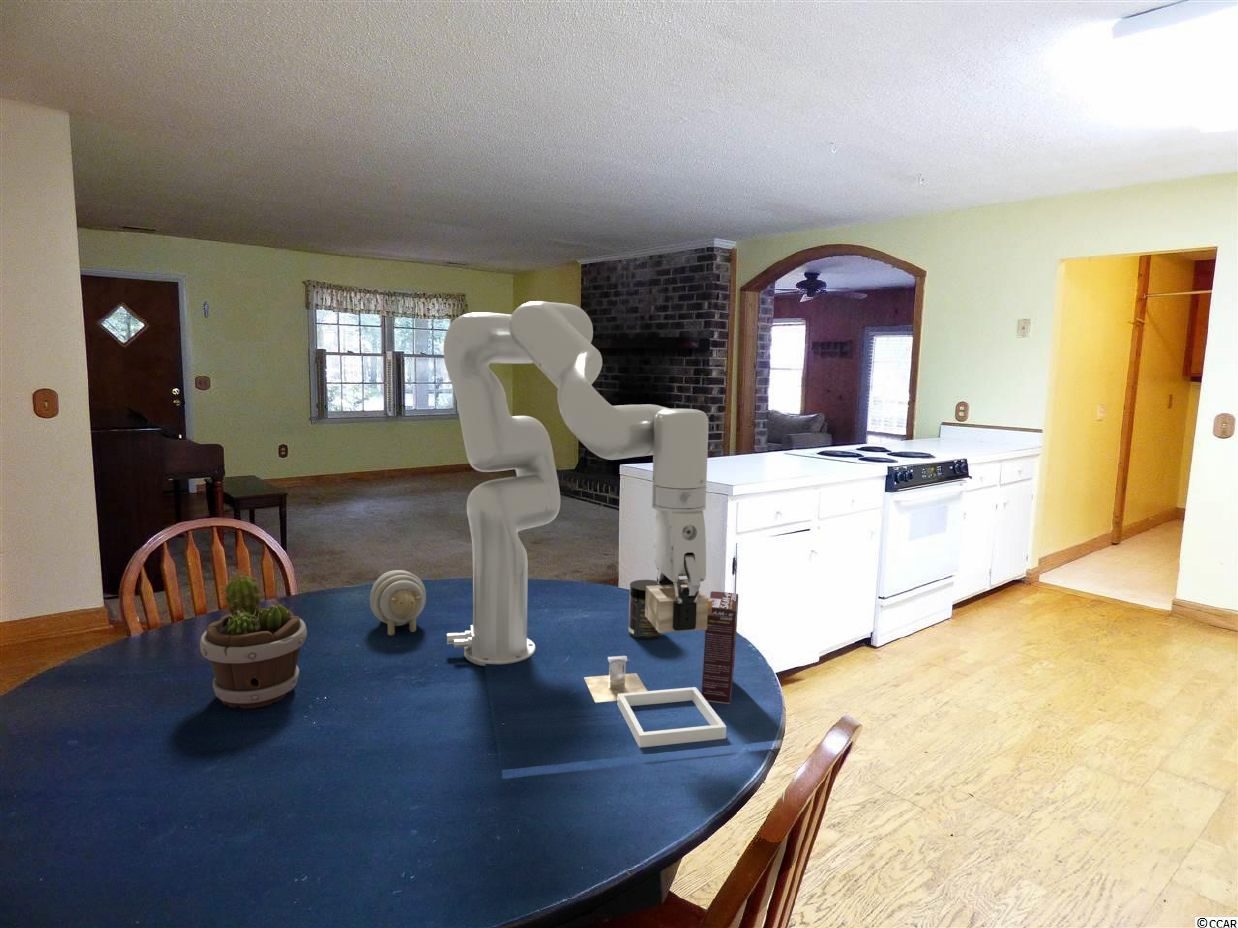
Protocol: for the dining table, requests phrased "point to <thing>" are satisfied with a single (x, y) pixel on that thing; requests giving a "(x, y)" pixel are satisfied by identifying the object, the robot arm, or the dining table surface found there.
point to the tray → (673, 735)
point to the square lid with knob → (614, 682)
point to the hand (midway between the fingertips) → (675, 618)
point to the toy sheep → (398, 599)
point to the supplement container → (640, 612)
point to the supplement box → (720, 648)
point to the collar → (662, 608)
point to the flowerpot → (253, 647)
